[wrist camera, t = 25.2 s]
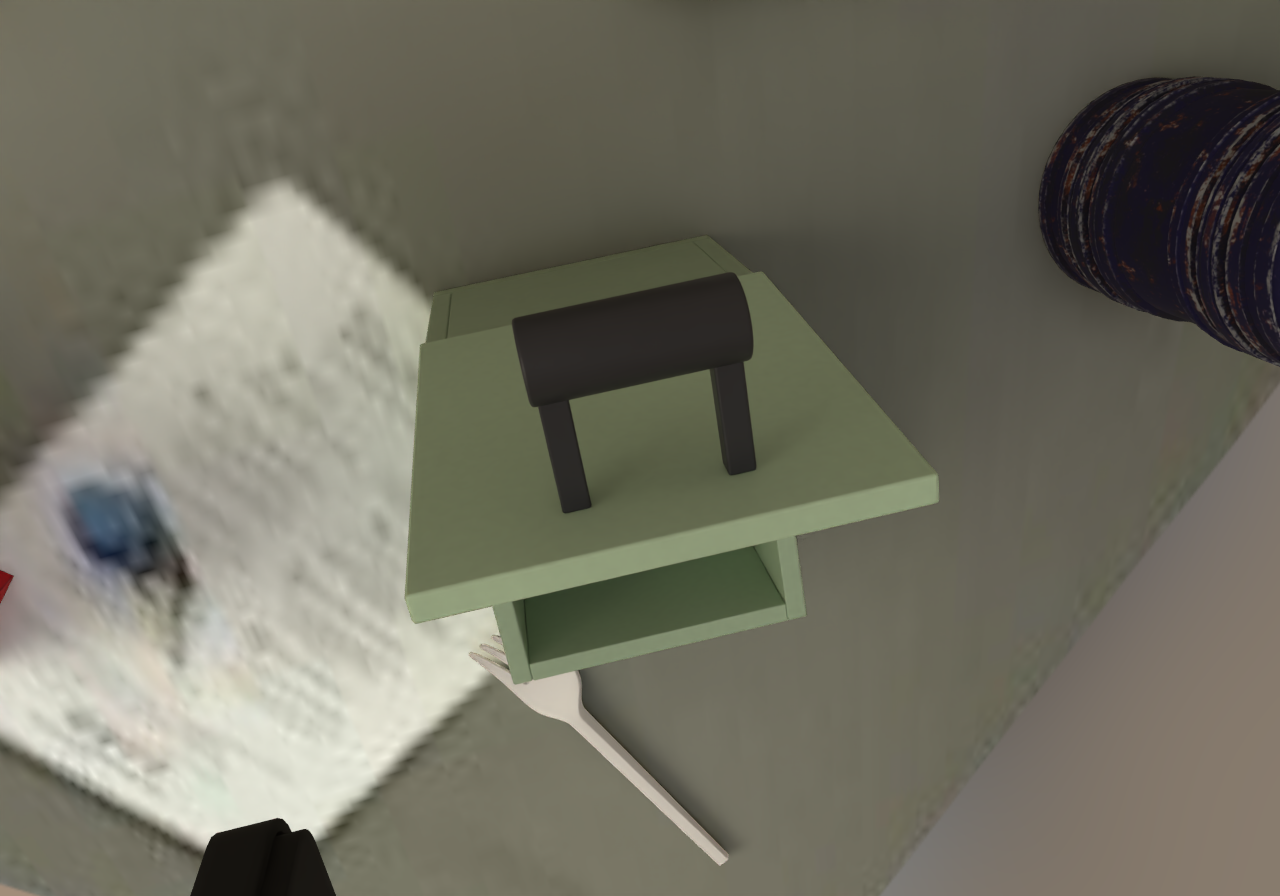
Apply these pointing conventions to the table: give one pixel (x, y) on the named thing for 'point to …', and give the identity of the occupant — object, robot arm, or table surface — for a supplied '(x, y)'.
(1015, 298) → the table surface
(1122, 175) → the dark blue disc stack
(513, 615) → the olive green lidded box
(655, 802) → the fork
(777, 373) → the box lid
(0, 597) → the food packaging
